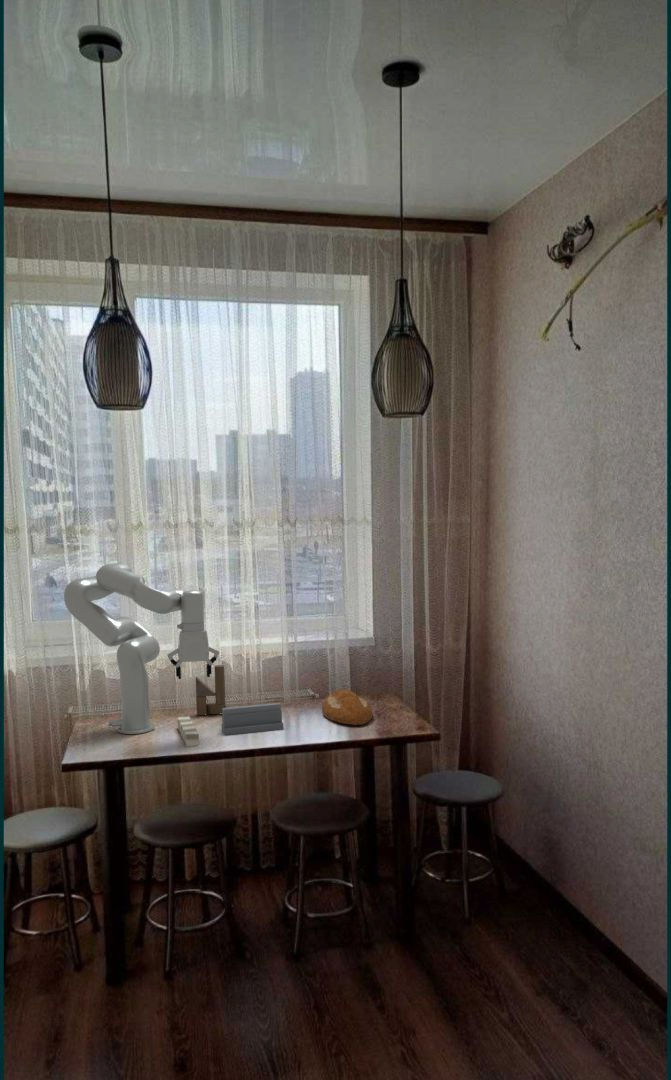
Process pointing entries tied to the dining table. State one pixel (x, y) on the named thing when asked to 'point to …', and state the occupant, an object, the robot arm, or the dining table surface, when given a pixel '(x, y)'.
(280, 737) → the dining table surface
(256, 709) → the ridge block
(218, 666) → the wooden block
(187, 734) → the birch bar
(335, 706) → the bread
